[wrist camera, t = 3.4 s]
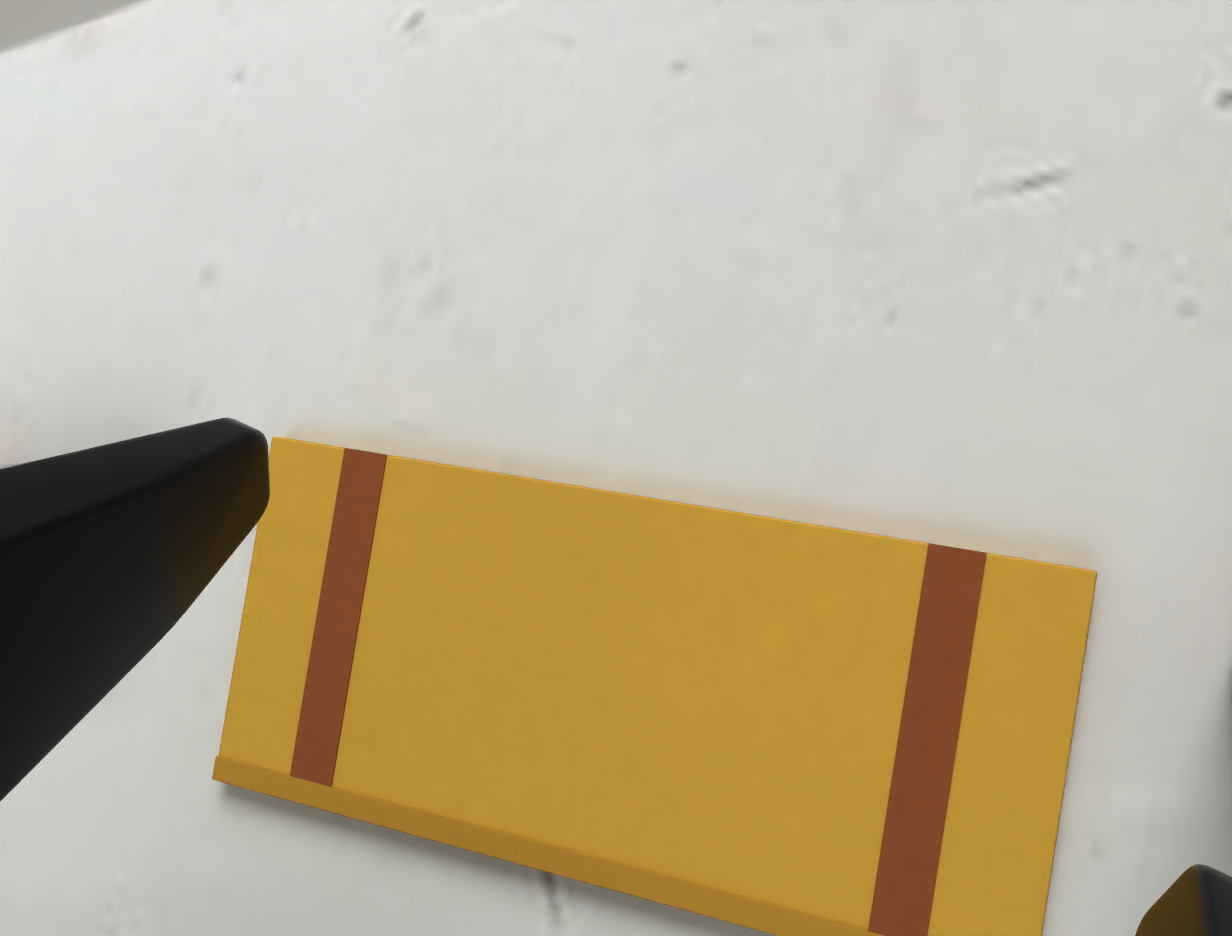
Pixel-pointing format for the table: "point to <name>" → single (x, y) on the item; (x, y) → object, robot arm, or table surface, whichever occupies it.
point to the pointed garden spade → (8, 465)
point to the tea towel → (661, 694)
